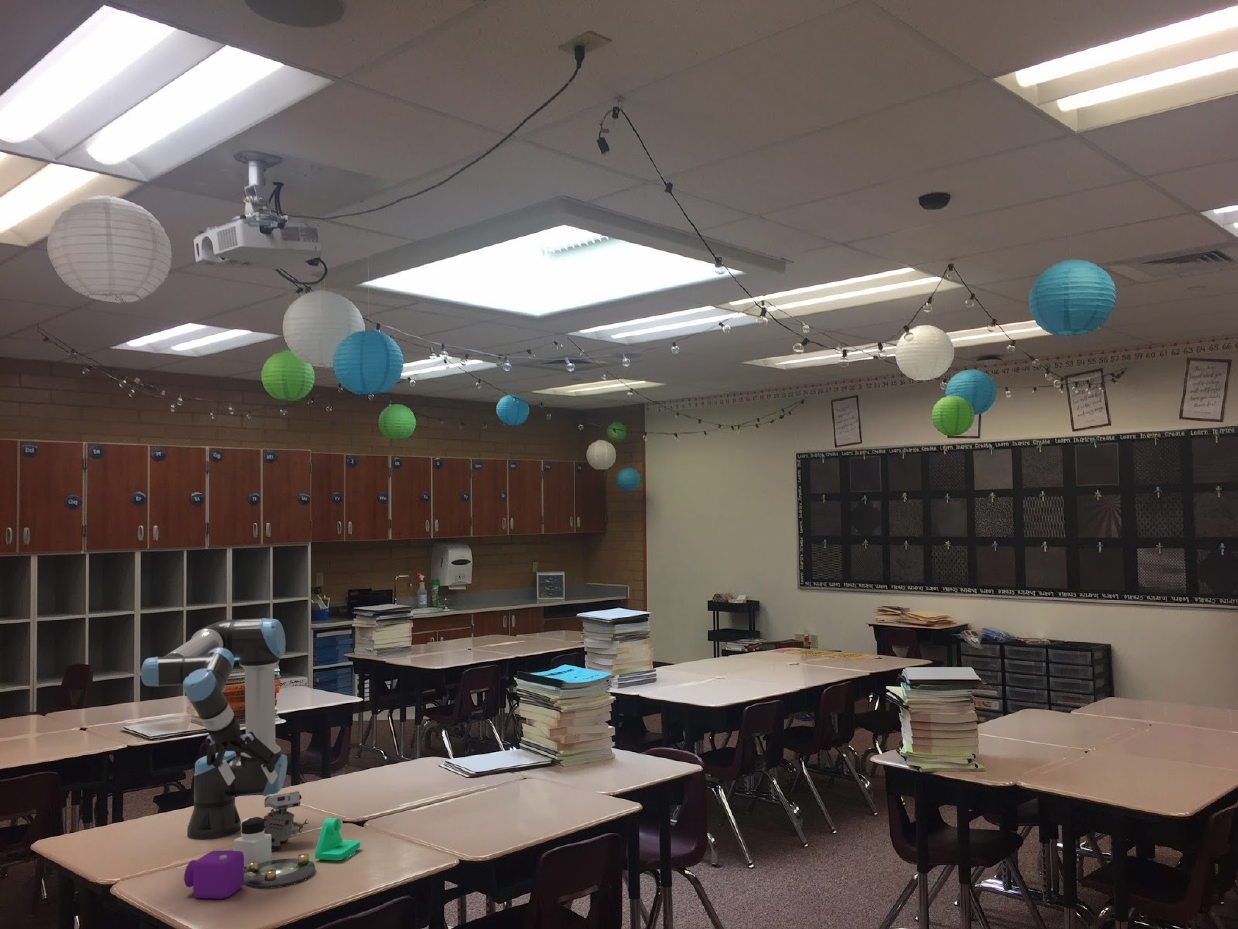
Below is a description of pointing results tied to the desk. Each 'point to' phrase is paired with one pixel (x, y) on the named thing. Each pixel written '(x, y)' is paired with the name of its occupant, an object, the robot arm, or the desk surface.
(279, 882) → the plate
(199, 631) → the robot arm
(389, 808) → the desk surface
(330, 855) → the camera mount
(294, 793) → the figurine
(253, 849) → the medicine bottle
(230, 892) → the toy camera
